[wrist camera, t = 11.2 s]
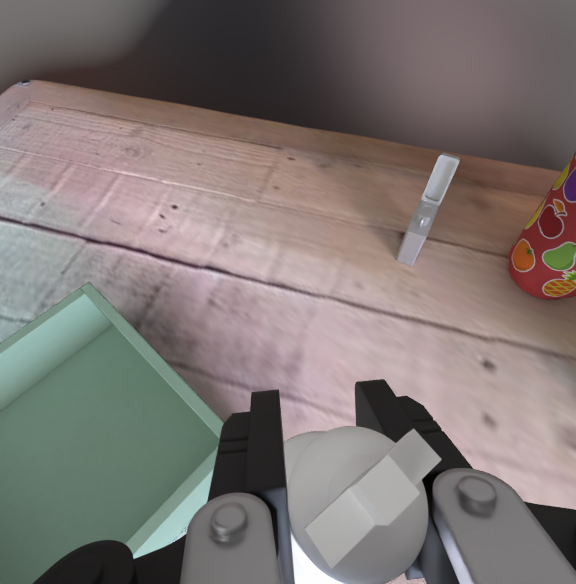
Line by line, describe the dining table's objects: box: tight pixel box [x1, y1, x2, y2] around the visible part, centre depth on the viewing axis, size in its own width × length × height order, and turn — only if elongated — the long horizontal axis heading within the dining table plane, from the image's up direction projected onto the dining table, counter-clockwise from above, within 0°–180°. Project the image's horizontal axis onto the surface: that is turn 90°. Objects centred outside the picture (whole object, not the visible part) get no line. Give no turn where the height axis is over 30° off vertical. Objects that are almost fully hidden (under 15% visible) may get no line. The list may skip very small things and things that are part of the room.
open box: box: [0, 282, 224, 584], centre depth 23 cm, size 20×17×6 cm
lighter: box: [396, 153, 460, 266], centre depth 34 cm, size 7×2×8 cm, turn 153°
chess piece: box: [284, 426, 442, 584], centre depth 8 cm, size 5×5×10 cm
